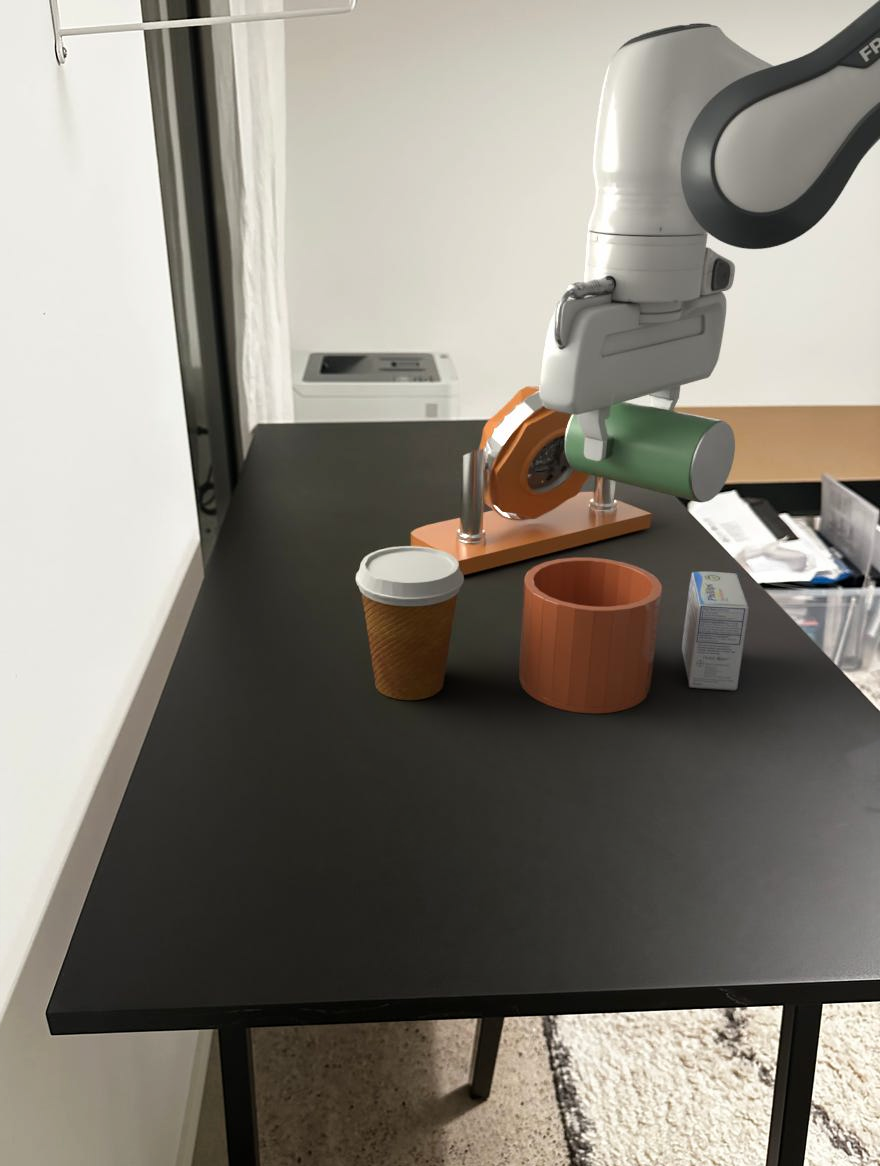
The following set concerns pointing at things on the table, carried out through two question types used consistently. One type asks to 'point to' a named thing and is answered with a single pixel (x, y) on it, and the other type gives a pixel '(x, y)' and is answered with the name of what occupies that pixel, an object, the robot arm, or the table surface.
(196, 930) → the table surface
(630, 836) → the table surface
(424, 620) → the disposable coffee cup
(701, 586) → the medicine box
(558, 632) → the holder
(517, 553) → the desk clock
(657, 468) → the can
